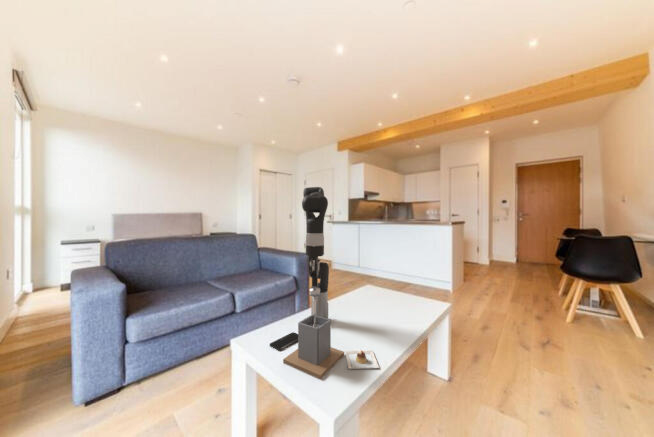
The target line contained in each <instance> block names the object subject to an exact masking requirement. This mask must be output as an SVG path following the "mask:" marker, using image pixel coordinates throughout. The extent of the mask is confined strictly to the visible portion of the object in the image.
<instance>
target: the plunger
mask: <svg viewBox="0 0 654 437" xmlns="http://www.w3.org/2000/svg"><path fill="white" fill-rule="evenodd" d="M311 287H312V286H311ZM311 287H310V288H309V296H310V297H311V296H313V323H311V324H309V325H310V326H313V327H316V328H318V327H319V326H321V325H320V324H317V323H316V296H319V295H320V288H318V287H312V288H311Z"/></svg>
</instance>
